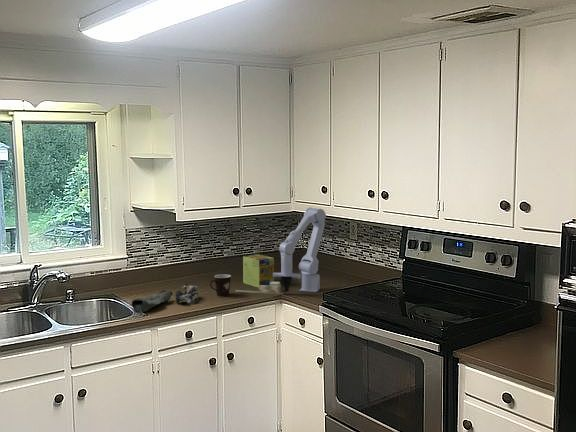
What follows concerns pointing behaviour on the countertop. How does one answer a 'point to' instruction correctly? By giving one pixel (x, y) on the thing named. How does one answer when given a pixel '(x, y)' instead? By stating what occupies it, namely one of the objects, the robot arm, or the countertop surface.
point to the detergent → (151, 300)
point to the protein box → (258, 270)
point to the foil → (189, 291)
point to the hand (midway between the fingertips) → (286, 290)
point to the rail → (256, 292)
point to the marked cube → (274, 283)
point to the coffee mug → (222, 284)
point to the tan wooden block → (270, 289)
